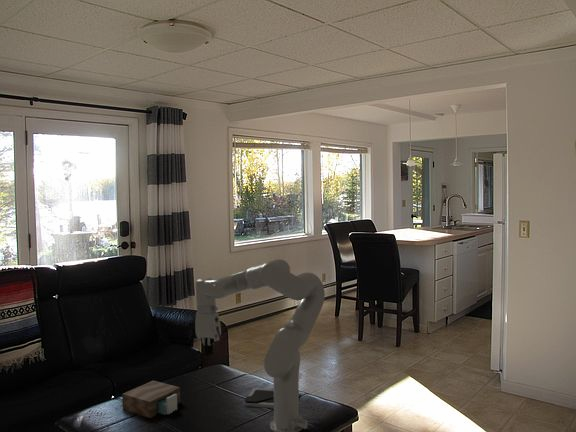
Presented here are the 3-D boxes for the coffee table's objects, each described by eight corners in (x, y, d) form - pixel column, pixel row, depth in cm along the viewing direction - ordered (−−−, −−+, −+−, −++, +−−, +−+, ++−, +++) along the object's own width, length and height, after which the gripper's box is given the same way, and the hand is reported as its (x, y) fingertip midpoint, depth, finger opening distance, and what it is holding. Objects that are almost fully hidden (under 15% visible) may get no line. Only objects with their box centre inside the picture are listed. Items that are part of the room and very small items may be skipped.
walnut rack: (180, 402, 209) (179, 387, 208) (150, 418, 194) (149, 401, 194) (153, 394, 217) (153, 380, 217) (122, 409, 202) (122, 393, 202)
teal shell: (178, 408, 202) (178, 393, 202) (166, 415, 196) (166, 399, 196) (153, 401, 210) (152, 386, 210) (140, 407, 204) (140, 392, 204)
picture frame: (243, 407, 204) (292, 411, 200) (243, 400, 204) (292, 404, 200) (253, 392, 220) (299, 395, 216) (253, 386, 220) (298, 389, 216)
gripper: (227, 308, 196) (229, 353, 196) (198, 306, 203) (200, 349, 204) (215, 312, 189) (217, 359, 190) (185, 310, 197) (188, 355, 197)
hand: (208, 354), depth 197 cm, fingers closed
